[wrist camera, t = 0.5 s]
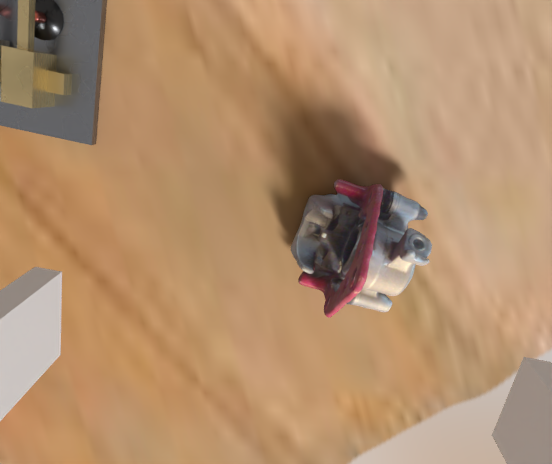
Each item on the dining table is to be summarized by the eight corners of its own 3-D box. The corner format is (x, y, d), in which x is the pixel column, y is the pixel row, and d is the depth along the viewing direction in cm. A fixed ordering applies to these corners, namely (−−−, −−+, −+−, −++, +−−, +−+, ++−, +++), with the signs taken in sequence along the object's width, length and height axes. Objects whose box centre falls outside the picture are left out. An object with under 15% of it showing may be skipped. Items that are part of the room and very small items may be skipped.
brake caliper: (292, 150, 35) (405, 212, 27) (383, 170, 42) (498, 224, 33) (251, 276, 39) (339, 367, 30) (341, 276, 46) (434, 350, 37)
